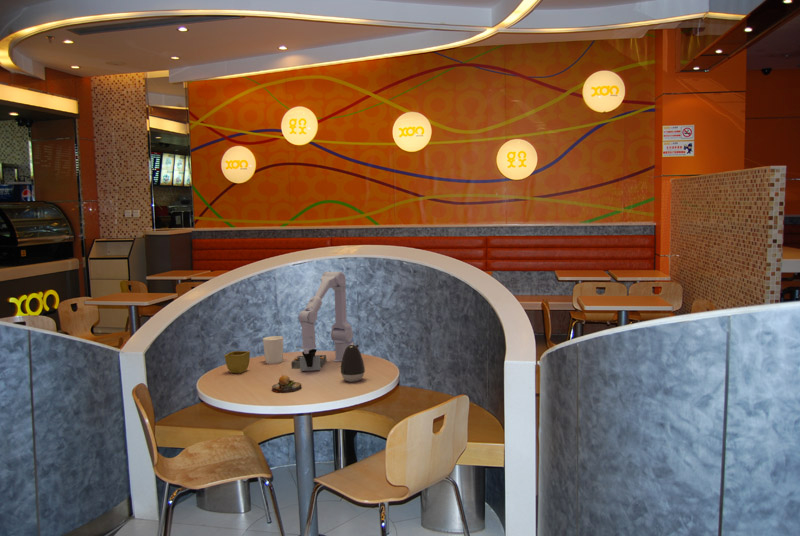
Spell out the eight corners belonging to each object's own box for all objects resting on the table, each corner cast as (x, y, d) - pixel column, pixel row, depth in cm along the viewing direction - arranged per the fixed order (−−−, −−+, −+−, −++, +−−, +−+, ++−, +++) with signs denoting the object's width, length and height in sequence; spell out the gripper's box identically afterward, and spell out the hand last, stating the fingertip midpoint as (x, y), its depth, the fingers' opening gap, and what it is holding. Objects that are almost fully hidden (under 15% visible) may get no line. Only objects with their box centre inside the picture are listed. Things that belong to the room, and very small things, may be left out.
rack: (326, 361, 300) (326, 354, 300) (321, 367, 287) (321, 360, 286) (298, 361, 301) (297, 355, 301) (291, 368, 287) (291, 361, 287)
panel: (320, 369, 281) (320, 356, 281) (319, 370, 279) (319, 357, 279) (301, 369, 282) (300, 356, 281) (300, 370, 280) (299, 357, 279)
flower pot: (224, 374, 281) (223, 354, 281) (234, 369, 290) (233, 350, 289) (242, 374, 279) (241, 355, 278) (251, 370, 288) (250, 351, 287)
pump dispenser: (369, 378, 263) (368, 343, 262) (357, 384, 254) (355, 347, 253) (349, 376, 268) (348, 341, 267) (336, 382, 258) (334, 346, 257)
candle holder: (260, 364, 299) (259, 339, 299) (270, 359, 309) (269, 336, 308) (278, 364, 297) (277, 340, 296) (288, 360, 306) (286, 336, 305)
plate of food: (307, 388, 251) (306, 370, 250) (282, 395, 243) (281, 376, 242) (290, 384, 259) (289, 366, 259) (266, 390, 251) (265, 372, 251)
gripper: (303, 334, 287) (304, 362, 288) (296, 340, 273) (298, 370, 274) (318, 333, 287) (319, 362, 288) (312, 339, 272) (313, 369, 273)
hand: (310, 366), depth 281 cm, fingers closed on panel, 2 cm apart
